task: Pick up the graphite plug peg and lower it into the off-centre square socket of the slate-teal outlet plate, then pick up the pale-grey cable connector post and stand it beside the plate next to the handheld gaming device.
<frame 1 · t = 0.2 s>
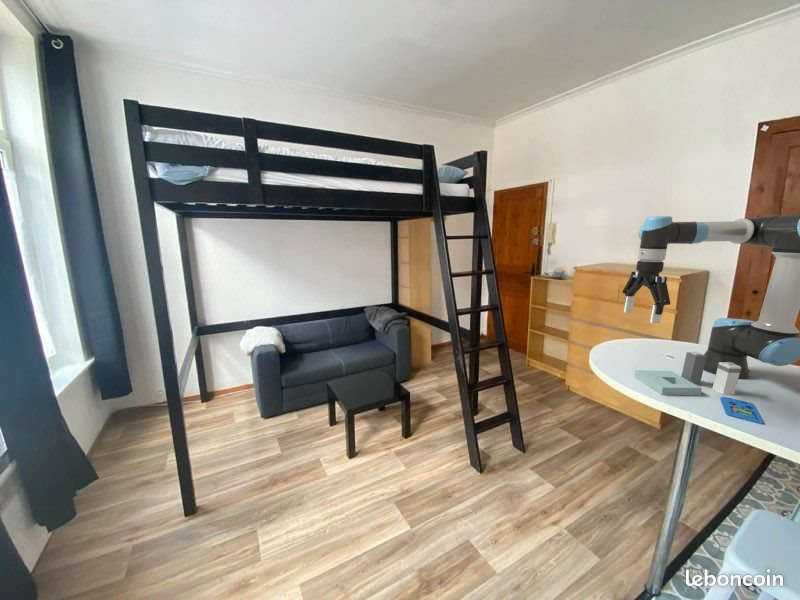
hand: (640, 317, 115), 27 cm above the table, fingers open, 13 cm apart
handheld gaming device: (739, 411, 104), on the table
outlet plate: (665, 385, 120), on the table
plug: (690, 382, 122), on the table
cable connector: (723, 391, 115), on the table
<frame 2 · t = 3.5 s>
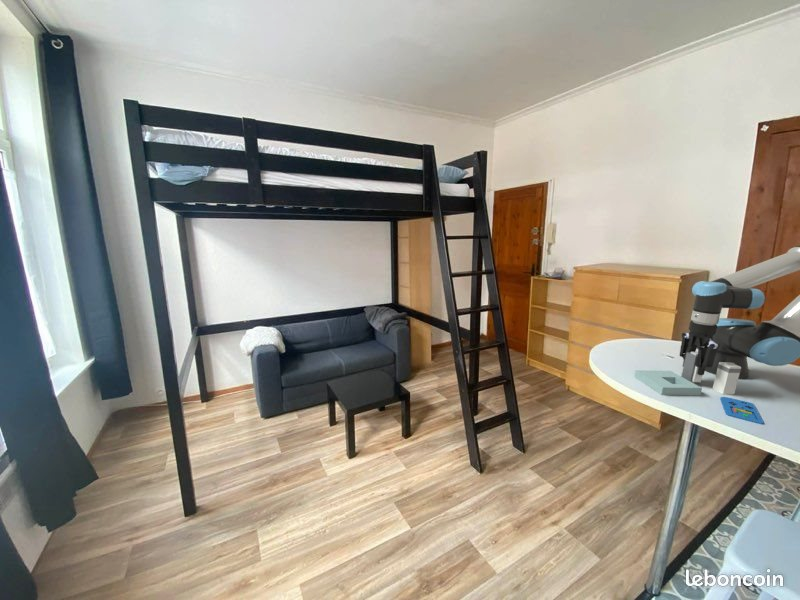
hand: (690, 378, 122), 2 cm above the table, fingers closed on plug, 4 cm apart
plug: (690, 382, 122), on the table, touching gripper
everything else where it was.
when the fingers open (4 cm above the table, at t = 8.6 s): plug drops 2 cm, resting in outlet plate.
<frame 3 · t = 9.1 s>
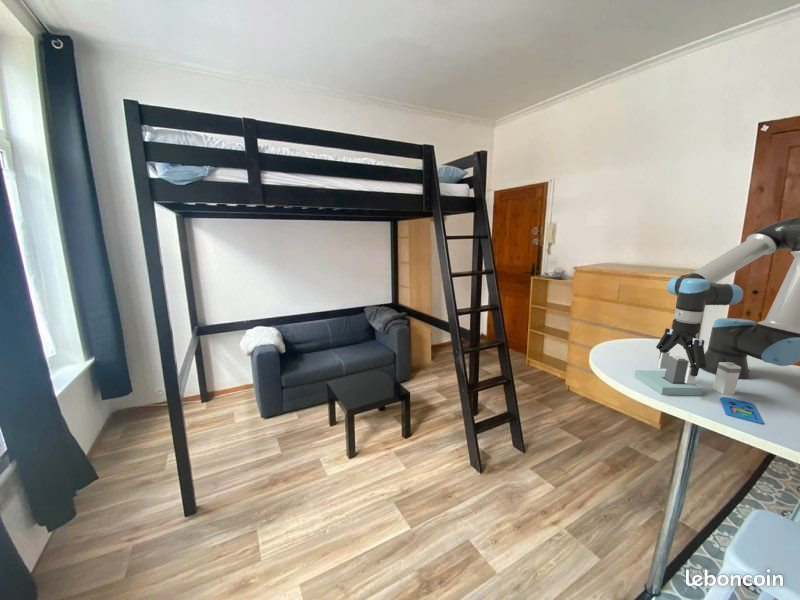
hand: (675, 375, 117), 5 cm above the table, fingers open, 11 cm apart
plug: (672, 387, 118), resting in outlet plate
everything else where it was.
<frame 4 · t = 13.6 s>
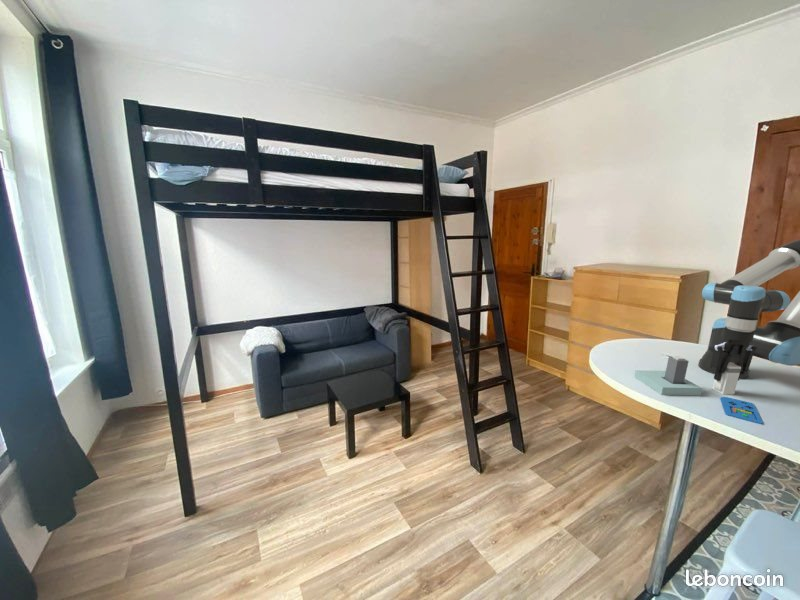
hand: (723, 388, 115), 1 cm above the table, fingers closed on cable connector, 4 cm apart
cable connector: (723, 391, 115), on the table, touching gripper
everything else where it was.
when the fingers open (2 cm above the table, at t = 19.9 s): cable connector drops 1 cm, on the table.
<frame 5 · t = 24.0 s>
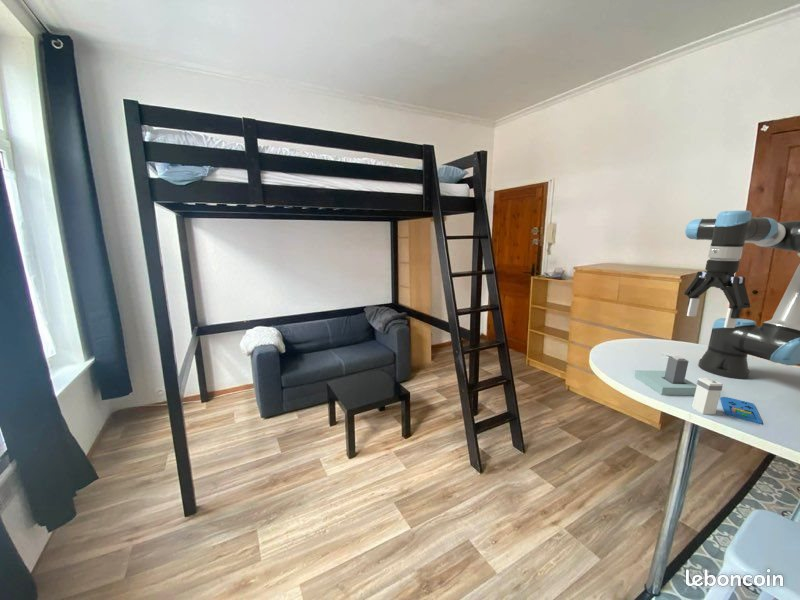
hand: (709, 321, 105), 29 cm above the table, fingers open, 13 cm apart
cable connector: (703, 410, 103), on the table
everything else where it was.
at the end: plug 0.0 cm from the target spot on the outlet plate, point 0.0 cm above the outlet plate's base; cable connector inside the target area (0.0 cm from its centre), on the table; cable connector 12.9 cm from the handheld gaming device (horizontally) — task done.
